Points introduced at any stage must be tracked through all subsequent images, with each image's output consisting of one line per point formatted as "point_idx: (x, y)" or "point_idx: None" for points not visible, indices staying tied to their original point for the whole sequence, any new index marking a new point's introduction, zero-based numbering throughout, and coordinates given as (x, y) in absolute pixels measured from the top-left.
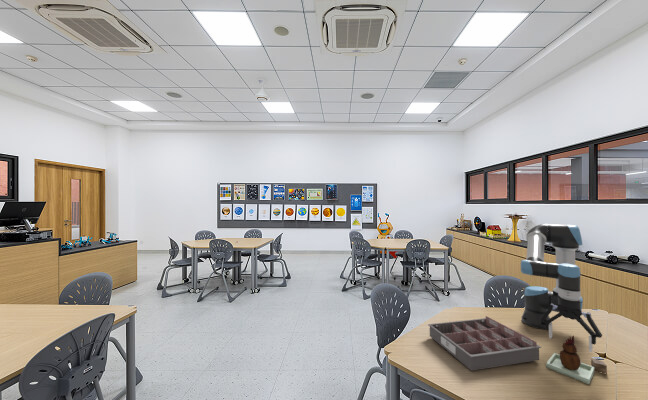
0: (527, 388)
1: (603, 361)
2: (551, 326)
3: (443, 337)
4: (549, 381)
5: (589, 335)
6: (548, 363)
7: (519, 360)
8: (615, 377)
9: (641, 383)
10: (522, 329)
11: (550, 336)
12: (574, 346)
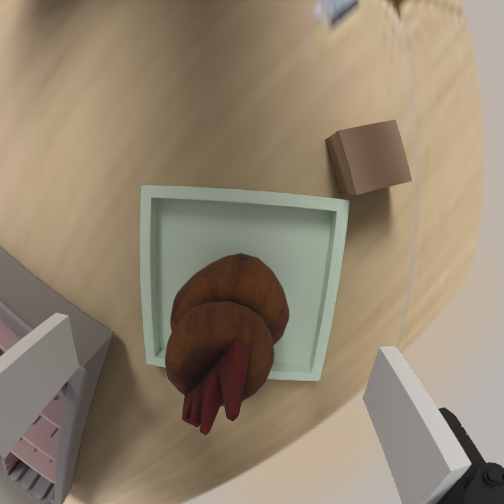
0: (168, 490)
1: (396, 125)
2: (3, 416)
3: None
4: (195, 441)
5: (428, 498)
6: (153, 360)
7: (84, 416)
8: (416, 184)
9: (481, 162)
10: (31, 4)
11: (67, 377)
12: (256, 390)
